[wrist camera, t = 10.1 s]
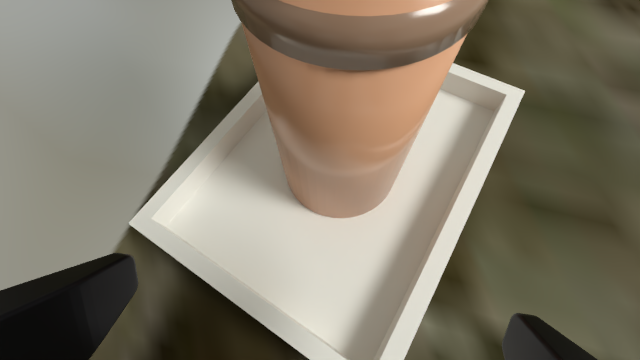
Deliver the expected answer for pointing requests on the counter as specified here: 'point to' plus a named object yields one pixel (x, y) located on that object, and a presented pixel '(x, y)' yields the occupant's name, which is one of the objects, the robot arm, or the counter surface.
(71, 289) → the robot arm
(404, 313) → the tray
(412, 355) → the counter surface
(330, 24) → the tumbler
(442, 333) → the counter surface
